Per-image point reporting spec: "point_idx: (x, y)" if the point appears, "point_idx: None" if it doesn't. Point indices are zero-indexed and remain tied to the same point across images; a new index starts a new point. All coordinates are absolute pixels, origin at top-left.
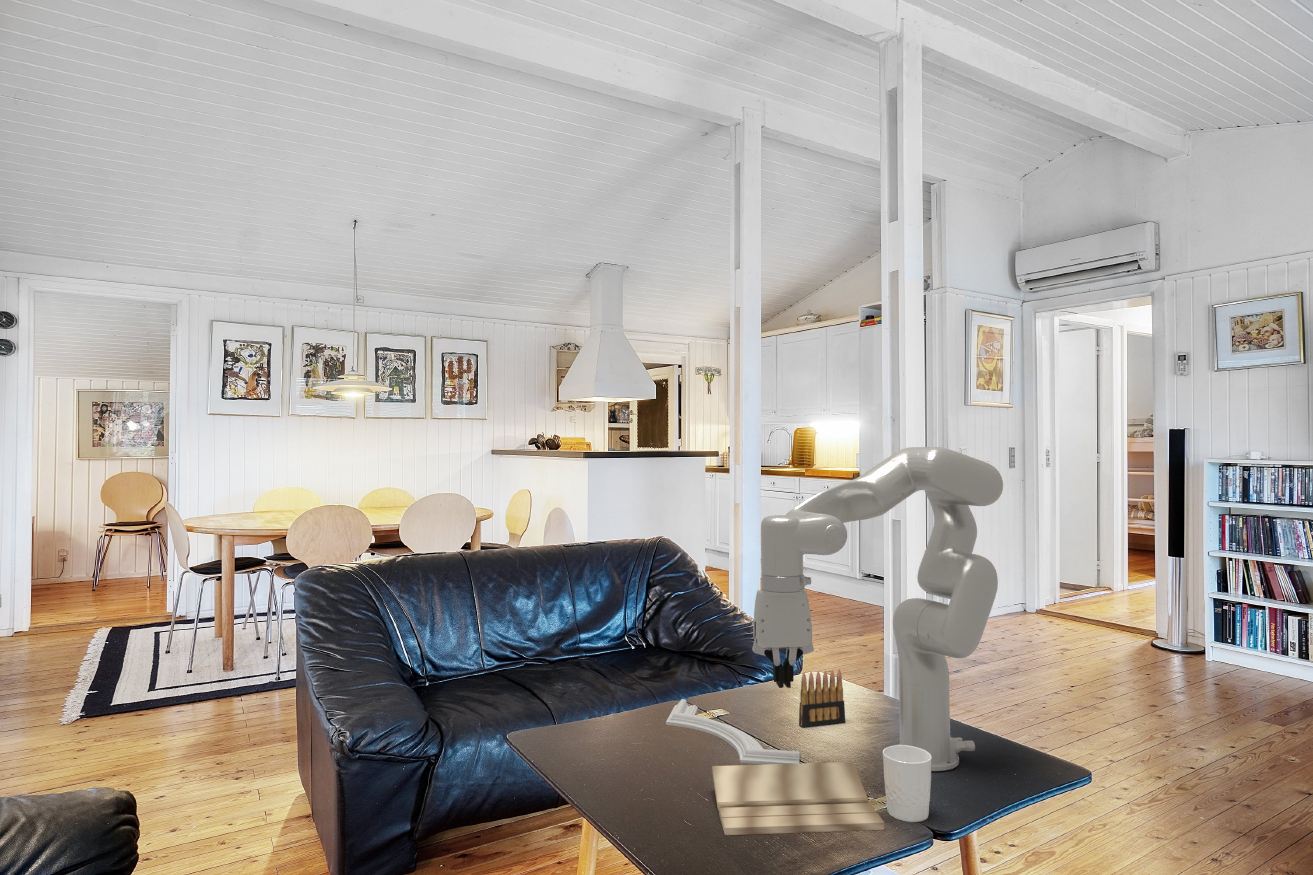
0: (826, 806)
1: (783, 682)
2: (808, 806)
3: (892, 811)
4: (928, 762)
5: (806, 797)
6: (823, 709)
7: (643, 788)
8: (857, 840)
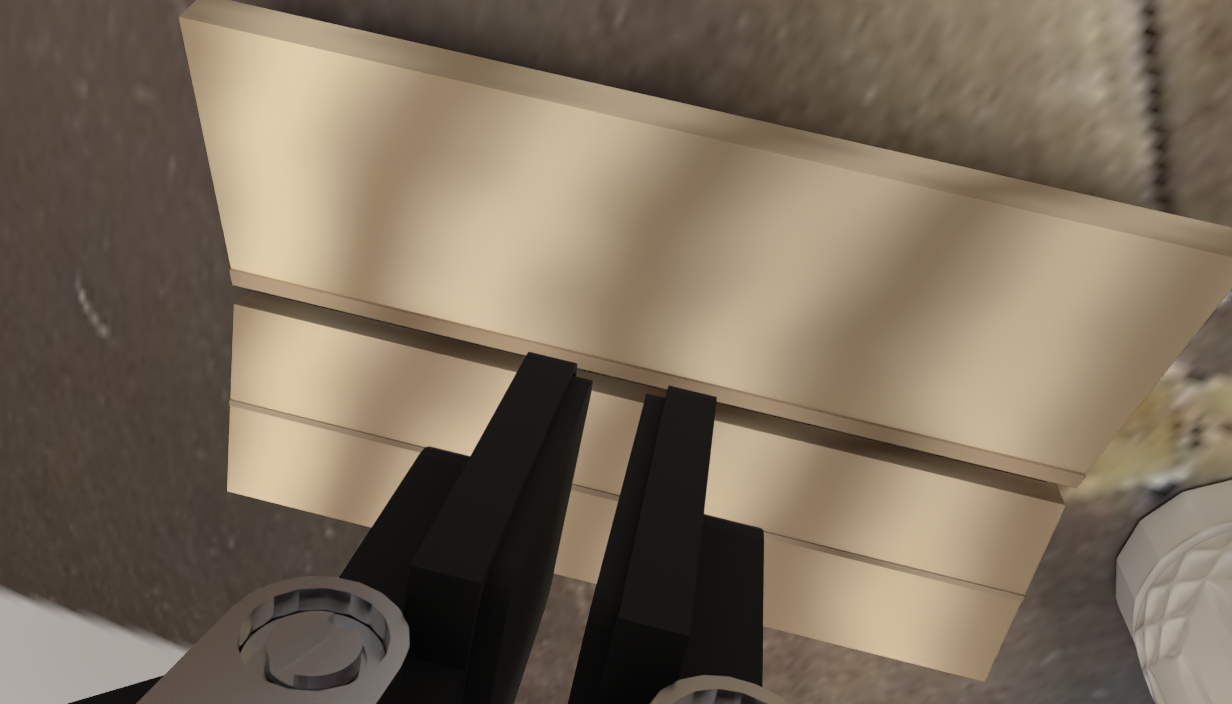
0: (803, 465)
1: (531, 644)
2: None
3: (1122, 595)
4: None
5: (733, 377)
6: None
7: None
8: (798, 682)
